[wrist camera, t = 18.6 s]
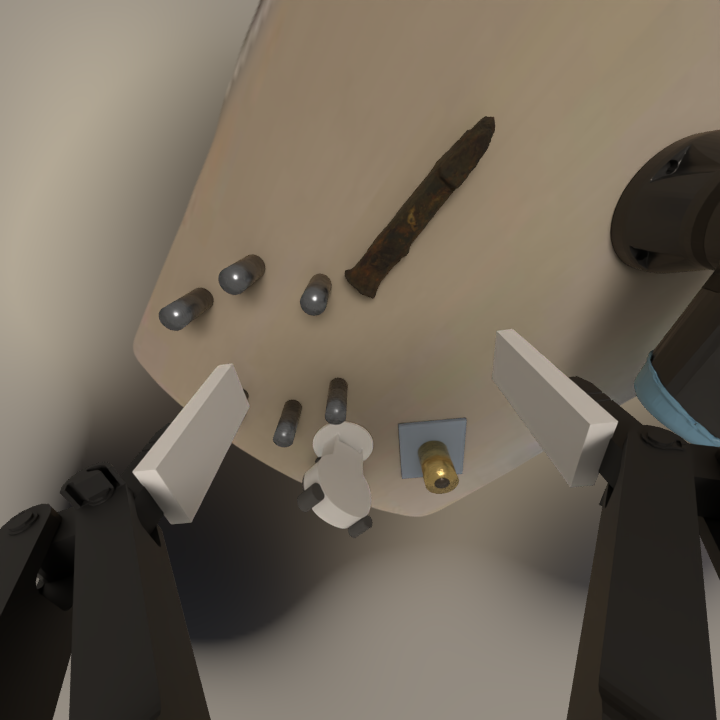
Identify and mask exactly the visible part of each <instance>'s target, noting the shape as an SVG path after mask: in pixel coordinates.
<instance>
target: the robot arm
mask: <svg viewBox="0 0 720 720" xmlns="http://www.w3.org/2000/svg"><path fill="white" fill-rule="evenodd" d="M611 235H612V243H613V247H614V250H615V252H616V254H617V255H618V257H619V258H620V259H621V260H622V261H623V262H624V263H626V264H627V265H629V266H631V267H633V268H636V269H640V270H644V271H648V272H653V273H675V272H687V271H700V270H714V272H713V274H712V275H711V276H710V278H709V279H708V280H707V282H706V283H705V284H704V286H703V287H702V288H701V289H700V291H699V292H698V293H697V295H696V296H695V297H694V299H693V300H692V301H691V303H690V304H689V305H688V307H687V308H686V309H685V311H684V312H683V313H682V314H681V316H680V317H679V318H678V320H677V321H676V322H675V323H674V325H673V326H672V327H671V329H670V330H669V331H668V333H667V334H666V335H665V336H664V338H663V339H662V340H661V342H660V343H659V344H658V346H657V347H656V348H655V349H654V350H652V351H651V352H650V353H649V355H648V357H647V362H646V363H645V365H644V366H643V368H642V369H641V371H640V372H639V374H638V375H637V377H636V379H635V382H634V388H635V392H636V393H637V397H638V399H639V400H640V402H641V403H642V405H643V406H644V407H645V408H646V409H647V410H648V411H649V412H650V413H651V414H652V415H653V416H654V417H655V418H656V419H657V420H658V421H660V422H661V423H662V424H663V425H665V426H666V427H667V428H669V429H670V430H672V431H673V432H674V433H676V434H677V435H676V434H674V433H673V432H671V431H668V430H665V429H663V428H660V427H655V426H649V425H642V424H641V423H640V422H639V421H637V420H636V419H635V418H634V417H633V416H631V415H630V414H629V413H628V412H626V411H625V410H624V409H623V408H621V407H620V406H619V405H618V404H617V403H615V402H614V401H613V400H612V401H611V399H610V398H609V397H608V396H607V395H606V394H604V393H602V391H601V390H599V389H598V388H597V387H596V386H595V385H593V384H592V383H590V382H588V381H586V380H584V379H582V378H580V377H577V376H576V377H567V376H566V375H565V374H564V373H562V372H561V371H560V370H559V369H558V368H557V367H556V366H555V365H553V364H552V363H551V362H550V361H549V360H548V359H547V358H545V357H544V356H543V355H542V354H541V353H540V352H539V351H537V350H536V349H535V348H534V347H533V346H532V345H531V344H530V343H528V342H527V341H526V340H525V339H524V338H523V337H522V336H520V335H519V334H518V333H517V332H516V331H515V330H514V329H507V330H499V331H497V332H496V342H495V352H494V363H493V373H492V379H493V381H494V382H495V384H496V385H497V386H498V388H499V389H500V391H501V392H502V393H503V395H504V396H505V397H506V399H507V400H508V402H509V403H510V404H511V406H512V407H513V409H514V410H515V411H516V413H517V414H518V416H519V417H520V418H521V420H522V421H523V422H524V424H525V425H526V427H527V428H528V429H529V431H530V432H531V434H532V435H533V436H534V438H535V439H536V441H537V442H538V443H539V445H540V446H541V447H542V449H543V450H544V452H545V453H546V454H547V456H548V457H549V458H550V460H551V461H552V463H553V464H554V465H555V467H556V468H557V470H558V471H559V472H560V474H561V475H562V477H563V478H564V479H565V481H566V482H567V483H568V485H569V486H570V487H582V486H593V485H595V482H596V480H597V477H598V474H599V473H600V474H601V475H602V476H603V477H604V479H605V480H606V481H607V482H608V484H607V486H606V489H605V491H604V494H603V496H602V499H601V501H600V505H601V506H602V512H601V518H600V524H599V530H598V535H597V542H596V548H595V554H594V559H593V565H592V571H591V577H590V583H589V589H588V595H587V601H586V608H585V613H584V619H583V625H582V632H581V637H580V643H579V649H578V655H577V661H576V668H575V673H574V679H573V685H572V691H571V696H570V702H569V708H568V714H567V720H717V718H716V708H715V697H714V686H713V677H712V665H711V654H710V643H709V633H708V622H707V611H706V601H705V590H704V579H703V568H702V558H701V547H700V537H701V539H702V541H703V544H704V546H705V548H706V550H707V552H708V555H709V557H710V559H711V561H712V563H713V566H714V568H715V570H716V572H717V575H718V577H719V579H720V130H715V131H709V132H704V133H698V134H694V135H691V136H688V137H686V138H683V139H681V140H679V141H677V142H675V143H673V144H671V145H670V146H668V147H666V148H665V149H663V150H662V151H661V152H659V153H658V154H657V155H655V156H654V157H653V158H652V159H651V160H650V161H648V162H647V163H646V164H645V165H644V166H643V167H642V168H641V170H640V171H639V172H638V173H637V174H636V175H635V177H634V178H633V179H632V181H631V182H630V183H629V185H628V186H627V188H626V189H625V191H624V193H623V195H622V197H621V198H620V201H619V203H618V205H617V208H616V210H615V214H614V217H613V222H612V231H611ZM249 407H250V406H249V403H248V401H247V398H246V396H245V393H244V391H243V388H242V386H241V383H240V381H239V378H238V376H237V373H236V371H235V368H234V366H233V363H232V364H224V365H218V366H217V367H216V369H215V370H214V371H213V372H212V373H211V375H210V376H209V377H208V378H207V380H206V381H205V382H204V383H203V385H202V386H201V387H200V388H199V390H198V391H197V392H196V393H195V395H194V396H193V397H192V398H191V400H190V401H189V402H188V403H187V405H186V406H185V407H184V408H183V409H182V411H181V412H180V413H179V414H178V416H177V417H176V418H175V419H174V421H173V422H172V423H168V424H167V425H166V426H164V427H163V428H162V429H160V430H159V431H158V432H156V434H155V435H154V436H153V437H152V438H151V440H150V441H149V444H147V445H146V446H145V447H144V448H143V449H142V452H140V453H139V454H138V455H137V456H136V458H135V459H134V460H133V461H132V462H131V464H130V465H129V466H128V467H127V468H126V470H125V471H124V472H123V473H122V474H121V475H119V474H118V473H117V472H116V470H115V469H114V467H113V466H112V465H111V464H110V463H108V462H101V463H96V464H94V465H91V466H88V467H86V468H85V469H83V470H81V471H79V472H78V473H76V474H75V475H74V476H72V477H71V478H70V479H68V481H67V482H66V483H65V484H64V485H63V486H62V488H61V491H60V494H62V496H63V497H65V499H66V500H67V501H68V502H69V503H70V504H71V505H72V506H73V507H71V508H68V509H66V510H62V511H60V512H56V511H55V510H54V509H53V508H52V507H51V506H50V505H49V504H40V505H36V506H33V507H31V508H29V509H27V510H24V511H22V512H21V513H19V514H18V515H16V516H14V517H13V518H11V519H10V521H8V522H7V523H6V524H5V525H4V526H2V528H1V529H0V720H52V719H53V716H54V712H55V708H56V705H57V701H58V698H59V694H60V691H61V688H62V684H63V680H64V677H65V673H66V670H67V666H68V663H69V659H70V656H71V682H70V709H69V720H211V719H210V715H209V711H208V707H207V704H206V700H205V696H204V692H203V688H202V684H201V680H200V676H199V673H198V669H197V665H196V661H195V657H194V654H193V649H192V645H191V641H190V638H189V634H188V630H187V626H186V622H185V619H184V615H183V610H182V607H181V603H180V599H179V595H178V591H177V587H176V584H175V580H174V576H173V572H172V568H171V564H170V560H169V556H168V553H167V549H166V545H165V541H164V537H163V533H162V530H161V528H160V527H159V526H158V522H159V521H160V519H161V517H162V515H163V514H164V515H165V517H166V518H167V520H168V521H169V522H170V524H178V523H189V522H192V519H193V518H194V516H195V514H196V512H197V510H198V508H199V506H200V504H201V502H202V500H203V498H204V496H205V494H206V492H207V490H208V488H209V486H210V484H211V482H212V480H213V478H214V476H215V474H216V472H217V470H218V468H219V466H220V464H221V462H222V460H223V458H224V456H225V454H226V453H227V451H228V449H229V447H230V445H231V443H232V441H233V439H234V437H235V435H236V433H237V431H238V429H239V427H240V425H241V423H242V421H243V419H244V417H245V415H246V413H247V411H248V409H249ZM678 435H679V436H678ZM681 437H682V438H681ZM684 439H685V440H686V441H688V442H690V443H692V444H689V443H687V442H686V441H685V440H684ZM699 535H700V536H699ZM36 578H39V582H38V584H37V586H36Z"/></svg>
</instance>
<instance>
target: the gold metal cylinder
mask: <svg viewBox="0 0 720 720" xmlns="http://www.w3.org/2000/svg"><path fill="white" fill-rule="evenodd" d="M418 457H419V461H420V465H421V469H422V473H423V478H424V482H425V486H426V488H427V490H429V491H430V492H432V493H436V494H442V493H447V492H450V491H452V490H453V489H455V488H456V486H457V485H458V482H459V479H458V476H457V474H456V471H455V468H454V465H453V463H452V460H451V457H450V454H449V452H448V449H447V446H446V445H445V444H444V443H443V442H440V441H428V442H426V443H424V444H422V445H421V446H420V447H419V449H418Z"/></svg>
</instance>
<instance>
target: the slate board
mask: <svg viewBox="0 0 720 720" xmlns="http://www.w3.org/2000/svg"><path fill="white" fill-rule="evenodd" d="M466 421H467V420H466V418H458V419H447V420H435V421H424V422H413V423H402V424H398V426H399V441H400V457H401V472H402V479H405V478H418V477H423V473H422V469H421V465H420V461H419V457H418V449H419V447H420V446H421V445H422V444H424V443H426V442H428V441H440V442H443V443H444V444H445V445H446V446H447V449H448V452H449V454H450V457H451V460H452V463H453V465H454V468H455V471H456V474H462V471H463V459H464V446H465V434H466Z"/></svg>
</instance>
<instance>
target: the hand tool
mask: <svg viewBox="0 0 720 720" xmlns="http://www.w3.org/2000/svg"><path fill="white" fill-rule="evenodd" d="M494 131H495V120H494V117H486V116H485V117H484V118H482V119H481V120H480V121H479V122H478V123H477V124H476V125H475V126H474V127H473V128H472V129H471V130H467V131H466V132H465V133H464V134H463V136H462V137H461V138H460V140H458V141H457V142H456V143H455V144H454V145H453V146H452V147H451V148H450V150H449V151H448V152H446V153H445V154H444V155H443V156H442V157H441V158H440V159H439V160H438V161H437V162H436V164H435V166H434V168H433V169H432V170H431V172H430V173H429V174H428V176H427V177H426V178H425V179H424V181H423V182H422V183H421V184H420V185H419V187H418V188H417V189H416V190H415V191H414V193H413V194H412V195H411V196H410V198H409V199H408V200H407V201H406V202H405V204H404V205H403V206H402V207H401V209H400V210H399V211H398V213H397V214H396V216H395V217H394V218H393V219H392V221H391V222H390V223H389V224H388V226H387V227H386V228H384V230H383V231H382V232H381V233H380V234H379V235H378V237H377V238H376V239H375V241H374V242H373V244H372V245H371V246H370V247H369V249H368V251H367V253H366V254H365V255H364V256H363V257H362V259H361V260H360V261H359V262H358V263H357V265H356V266H355V267H354V268H352V269H351V270H346V271H345V277H346V279H347V281H348V282H349V283H350V284H351V285H352V286H353V287H354V288H356V289H357V290H358V291H359V292H360V293H361V294H362V295H366V296H367V297H371V298H372V299H373V298H375V295H376V291H377V289H378V286H379V285H380V282H381V281H382V280H383V279H384V278H385V276H386V275H387V274H388V272H389V271H390V270H391V269H392V267H393V266H394V265H396V264H397V263H398V262H399V261H400V260H401V258H402V257H405V256H407V254H408V253H409V249H410V246H411V244H412V242H413V241H414V240H415V239H416V237H417V236H418V235H419V234H420V233H421V231H422V230H423V229H424V228H425V227H426V225H427V224H428V222H429V221H430V220H431V219H432V217H433V216H434V215H435V214H436V212H437V211H438V210H439V208H440V207H441V206H442V205H443V204H444V202H445V201H446V200H447V199H448V197H449V196H450V195H451V194H452V193H453V191H454V190H455V189H457V188H458V187H459V186H460V185H461V184H462V183H463V182H464V180H465V179H466V178H467V177H468V175H469V173H470V172H471V171H472V170H473V169H474V168H475V167H476V166H477V164H478V162H479V160H480V158H481V157H482V156H483V155H484V153H485V152H486V150H487V149H488V147H489V143H490V142H491V138H492V136H493V133H494Z"/></svg>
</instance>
